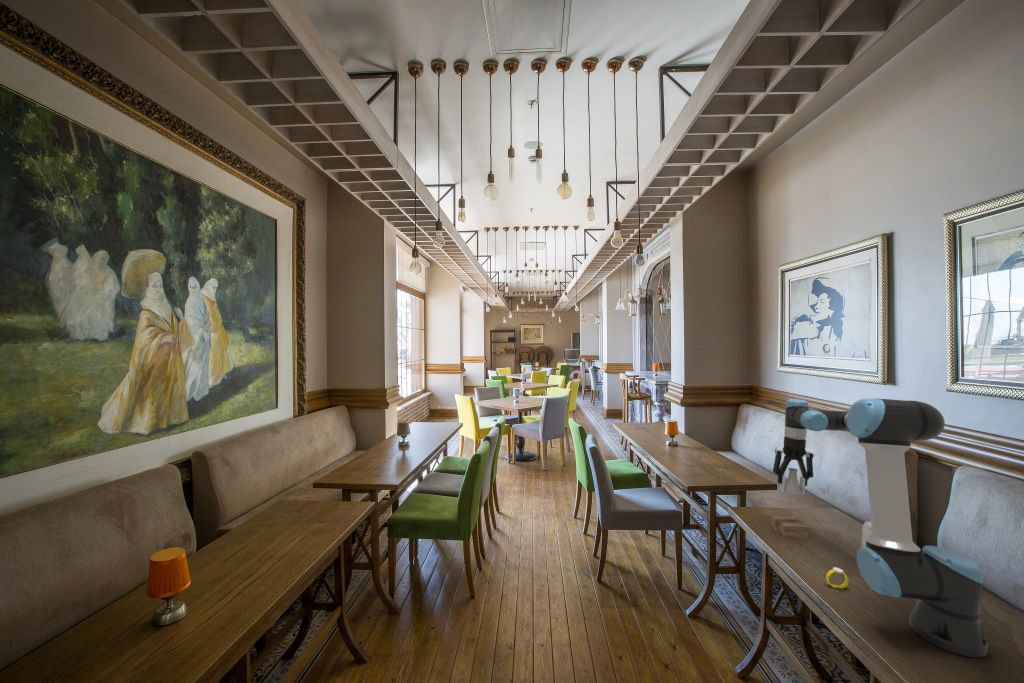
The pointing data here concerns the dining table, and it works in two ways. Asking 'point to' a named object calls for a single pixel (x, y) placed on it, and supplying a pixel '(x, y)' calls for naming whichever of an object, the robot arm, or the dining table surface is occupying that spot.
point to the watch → (838, 573)
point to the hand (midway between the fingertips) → (791, 492)
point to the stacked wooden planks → (789, 527)
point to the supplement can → (866, 532)
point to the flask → (792, 484)
